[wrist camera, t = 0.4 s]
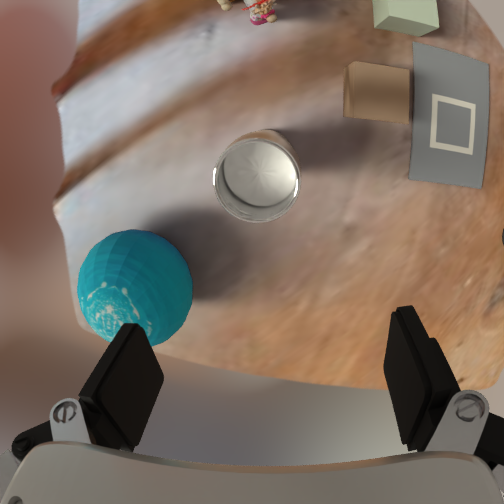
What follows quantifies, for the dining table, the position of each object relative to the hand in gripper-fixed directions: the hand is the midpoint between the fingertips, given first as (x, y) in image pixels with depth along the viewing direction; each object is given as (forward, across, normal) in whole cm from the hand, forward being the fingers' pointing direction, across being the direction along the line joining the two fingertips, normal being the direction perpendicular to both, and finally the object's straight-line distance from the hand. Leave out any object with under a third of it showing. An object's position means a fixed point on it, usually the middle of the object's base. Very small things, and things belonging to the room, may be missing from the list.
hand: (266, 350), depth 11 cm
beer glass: (+30, +1, -3) cm, 30 cm away
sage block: (+29, -17, -21) cm, 40 cm away
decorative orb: (+30, +19, +10) cm, 36 cm away
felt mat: (+29, -24, -7) cm, 38 cm away
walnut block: (+29, -12, -9) cm, 33 cm away
